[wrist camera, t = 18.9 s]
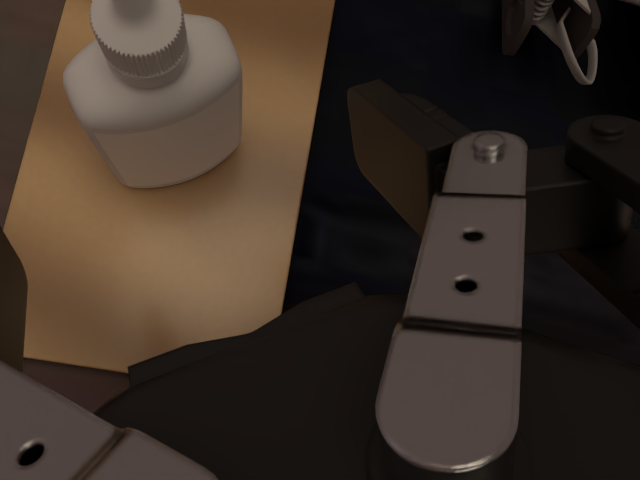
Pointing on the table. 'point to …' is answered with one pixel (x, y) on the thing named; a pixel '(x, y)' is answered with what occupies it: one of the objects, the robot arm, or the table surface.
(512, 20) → the clip-on lamp
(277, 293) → the board
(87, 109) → the eye dropper bottle
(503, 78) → the table surface
